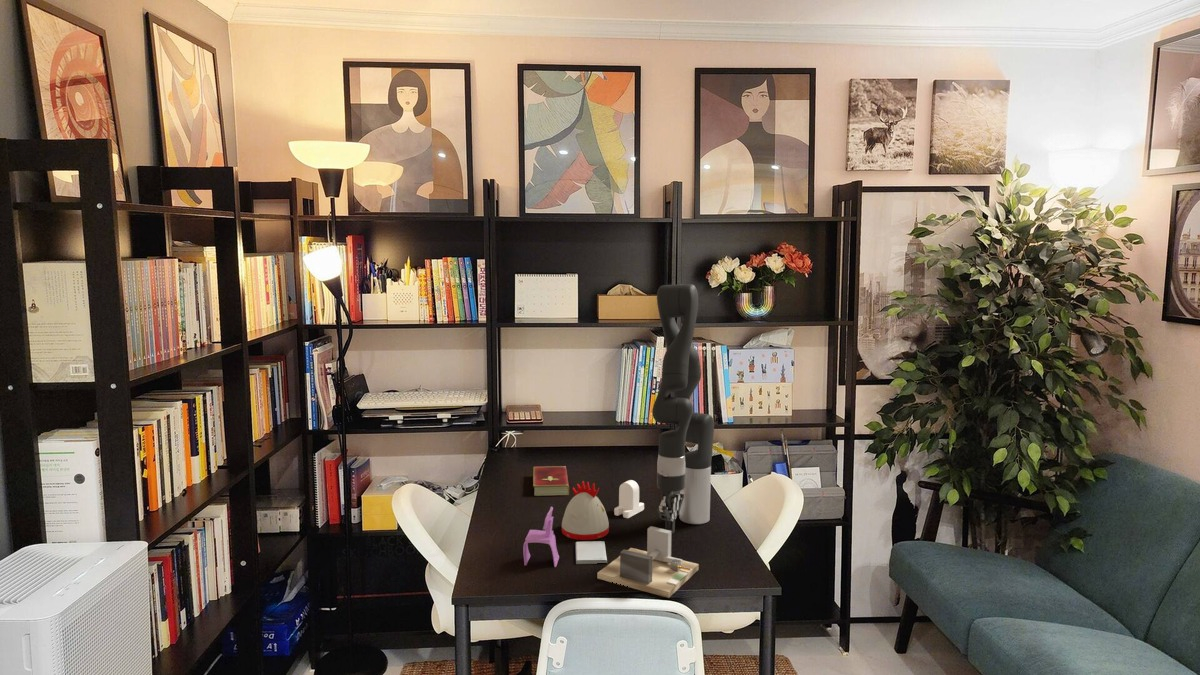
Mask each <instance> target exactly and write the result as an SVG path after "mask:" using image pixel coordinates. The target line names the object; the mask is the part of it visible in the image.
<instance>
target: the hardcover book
mask: <svg viewBox="0 0 1200 675" xmlns="http://www.w3.org/2000/svg"><path fill="white" fill-rule="evenodd" d="M532 470H533V472H532V476H533V477H532V482H533V484H532V487H533V489H534V491H533V492H534V493H533V494H534V495H533V496H535V497H537V496H538V497H539V496H540V497H541V496H542V497H543V496H544V497H545V496H546V497H547V496H569V495H570V485H569V479H568V471H567V466H566V465H563V466H562V465H559V466H557V465H555V466H554V465H552V466H549V465H547V466H533V467H532Z"/></svg>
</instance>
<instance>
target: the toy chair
mask: <svg viewBox="0 0 1200 675" xmlns="http://www.w3.org/2000/svg"><path fill="white" fill-rule="evenodd" d="M553 510H554V507H553V506H550V507H549V510H548V512H547V514H546V516H545V518H544V523H543V527H542V530H539V529H529V531H528V533H527V535H526V537H525V541H524V543H523V545H522V546H523V548H522V552H523V562H524V563H523V564H524V566H527V565H528V562H529V560H530V558H531V554H530V551H529V546H528V545H529V544H531V543H533V544H534V543H538V544H539V543H540V544H546V545H549V546H550V550H551V553H552V560H553V566H554V568H557V565H558V562H559V559H560V555H559V552H558V548H557V543H556V542H557V540H556V535H555V533H554V530H553V524H554V516H552V515H553Z"/></svg>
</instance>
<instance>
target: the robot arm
mask: <svg viewBox="0 0 1200 675" xmlns="http://www.w3.org/2000/svg"><path fill="white" fill-rule="evenodd" d="M656 302H657V303H656V305H657V309H658V315H659V319H660V324H661V327H662V331H663V336H664V337H663V338H664V341H665V348H666V349H665V350H666V351H665V353H664V356H663V360H662V369H661V379H660V385H659V386H660V387H659V389H658V392H657V394H656V397H655V400H654V403H653V405H652V411H651V413H652V417H653V419H654V421H655V422H656V423H658V424H669V425H674V426H675V429H673V430H667V431H663V432H661V433H660V434H659V437H658V455H657V456H658V457H657V465H656V469H657V471H656V487H657V489H658V490H660V491H661V496H660V501H661V502H660V504H656V507H655V508H656V511H657V513H658V516H659V517H660V520H664V521H665V522H664V529H665V530H670V531H671V535H672V534H674V533H675V532H676V530H675V529H676V519H677V516H678V515H679V520H680V521H682V522H683V523H686V524H691V525H702V524H706V523H708V522H709V521H710V517H711V515H710V514H711V513H710V512H711V483H712V482H711V480H712V478H711V476H712V458H713V446H714V436H715V435H714V434H715V421H714V418H713V416H712V415H711V414H708V413H700V412H694V407H693V403H692V402H691V400H690V399H691V397H692V395H693V393H694V391H695V390H696V388H697V387H698V384H699V383H700V382H701V379H702V368H701V360H700V355H699V352H698V351H697V349H696V348H695V347H694V345H693V344H692V342H693V338H694V333H695V327H696V322H697V318H698V312H699V292H698V290H697V287H696V286H695V284H692V283H682V284H681V283H679V284H663V285H660V287H658V289H657V292H656ZM675 318H683V321H682V325H681V328H679V326H678V324H677V322H676V321H677V320H676V319H675ZM671 393H672V397H669V395H671ZM686 443H691V444H696V445H697V449H695V450H691V451H687V452H686Z"/></svg>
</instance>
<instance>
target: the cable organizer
mask: <svg viewBox="0 0 1200 675" xmlns="http://www.w3.org/2000/svg"><path fill="white" fill-rule="evenodd" d="M618 487H619V488H618V489H619V490H618V506H616V507H614V510H613V512H614V516H618V517H619V516H621V515H622V517H623V518H624V519H629V518H631V517H633V516H635V515H636V514H639V513H640V512H643V511H644V510H645V503H644V502H640V486H639V484H638V483H637V482H636V481H635V480H633V479H629V480H626V481H625V482H622V483H621V484H620V485H619V486H618Z"/></svg>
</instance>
